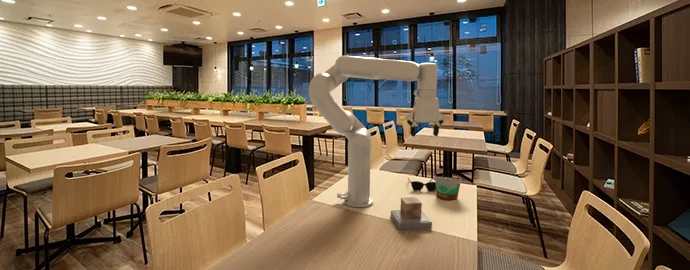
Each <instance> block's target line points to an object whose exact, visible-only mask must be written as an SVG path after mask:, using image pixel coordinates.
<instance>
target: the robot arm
mask: <svg viewBox="0 0 690 270" xmlns="http://www.w3.org/2000/svg"><path fill="white" fill-rule="evenodd" d="M438 71H439V68H438V64H436V63H433V62H422V63H420V64H419V63H416V62H415V61H408V60H407V61H406V60H399V59H398V60H396V59H385V58H377V57H365V56H356V55H355V56H353V55H340V56H338V58H337V59H336V60H335V63H334V64H333V65H332V66H331V67H330V68H329V69H327V70H325V72H319V73H317V74H315V75H314V76H313V77H312V79H311V80H310V83H309V88H308V95H309V100H310V102H311V104H312V106H313V107H314V108H315V109H316V110H317V111H318V113H319V114H320V115H321V116H322V117H323V118H324V120H326V122H327V123H328V124H329V125H330V127H331V128H332V129H333V130H334V131H335V132H336V133H338V134H340V135H344V137H345V138H346V139H347V190H346V191H345V192H344V193H341V192H340V193H339V192H338V193H336V198H337V199H340V200H343V203H344V204H345V205H346V206H349V207H352V208H366V207H370V206H372V205H373V203H374V199H373V198H372V197H370V194H371V193H370V191H371V189H370V188H371V156H372V153H371V150H372V135H371V132H370V131H369V130H368V129H367V128H366V126H365V125H364V124H363V123H362V122H361V120H359V119H358V118H357V117H356V116H355V115H354V113H352V112H351V111H350V110H348V109H344V108H343V107H342V106H341V105H340V104H339V102H338V101H337V100H336V99H335V98H333V96H332V94H331V93H330V92H332V91H334V90H335V89H336V88H337V87H339V86H340V85H341V84H343V83H344V82H346V81H347V80H349V78H357V79H366V80H393V81H401V82H414V81H417V87H416V88H417V89H416V90H415V91H413V95H415V96H416V97H415V98H414V101H413V107H412V111H411V112H409V113H407V114H405V115H404V119H405V121H406V123H407V124H408V125H409V126H410V132H409V134H410V136H411V137H415V136H416V125H417V124H418V123H427V124H428V123H433V130H432V131H433V133H432V135H433V136H434V137H438V135H439V133H440V132H439V131H440V126H441V125H442V124H443V123H444V121H445V120H446V117H447V115H445V114H443V113H441V112H440V103H439V98H438V97H437V87H438V86H437V85H438ZM411 117H412V119H411V120H410V118H411Z"/></svg>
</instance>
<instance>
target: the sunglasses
mask: <svg viewBox="0 0 690 270" xmlns="http://www.w3.org/2000/svg"><path fill="white" fill-rule="evenodd" d="M407 180H408V181H409V184H411V188H412V190H413V191H415V192H416V191H418V192H420V191H422V189H423V188H424V186H425V189H426V190H427V191H428V192H436V181H434V178H432V179H430V180H429V181H428V182H426V183H424V182H422V181H419V180H417V181H416V180H415V181H413V180H412V181H411V180H410V178H409V177H407Z"/></svg>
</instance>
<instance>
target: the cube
mask: <svg viewBox="0 0 690 270" xmlns="http://www.w3.org/2000/svg"><path fill="white" fill-rule="evenodd" d="M422 205H423V204H422V202H421V200H420V199H419V198H418V197H415V196H413V197H412V196H410V197H400V209H399V210H400V213H401V214H402V215H403V217H404V218H405V219H419V218H421V211H422V207H423V206H422Z"/></svg>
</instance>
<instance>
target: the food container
mask: <svg viewBox="0 0 690 270" xmlns="http://www.w3.org/2000/svg"><path fill="white" fill-rule="evenodd" d="M433 181H434V182H436V191H435V197H436V198H437V199H438V200H441V201H446V202H454V201H456V200H458V198H459V192H460V187H461V184H462V183H463V181H462V178H458V179H456V178H452V177H446V176H442V177H441V176H438V175H436V174H435V175H434V178H433Z"/></svg>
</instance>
